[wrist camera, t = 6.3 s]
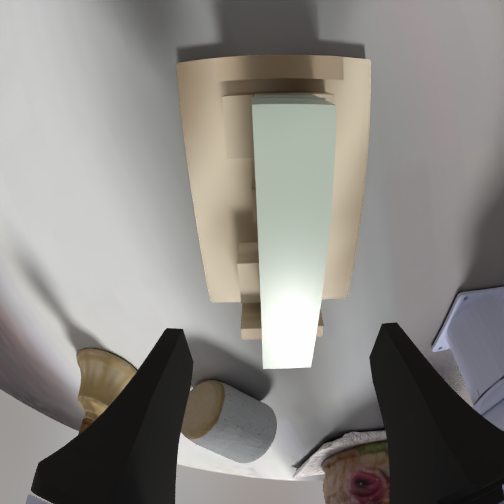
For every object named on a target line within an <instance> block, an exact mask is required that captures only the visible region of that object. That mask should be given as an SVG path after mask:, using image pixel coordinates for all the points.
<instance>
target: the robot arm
mask: <svg viewBox="0 0 504 504" xmlns="http://www.w3.org/2000/svg"><path fill="white" fill-rule="evenodd" d="M431 349H432V351H433V352H436V351H441V350H446V349H451V352H452V354H453V356H454V358H455V361H456V363H457V365H458V367H459V370H460V372H461V375H462V377H463V379H464V382H465V384H466V387H467V389H468V392H469V395H470V397H471V400H472V402H473V405H474V406H473V407H471V406H470V405H469V404H467V403H466V402H465V401H464V400H463V399H462V398H461V397H460V396H459V395H458V394H457V393H456V392H455V391H454V390H453V389H452V388H451V387H450V386H449V385H448V384H447V383H446V382H445V380H444V379H443V378H442V377H441V376H440V375H439V374H438V373H437V371H436V370H435V369H434V368H433V367H432V365H431V364H430V363H429V362H428V361H427V359H426V358H425V357H424V356H423V355H422V353H421V352H420V351H419V350H418V348H417V347H416V346H415V345H414V343H413V342H412V341H411V339H410V338H409V337H408V336H407V334H406V333H405V332H404V331H403V329H402V328H401V327H400V326H399V325H398V323H397V322H396V323H385V324H382V325H381V328H380V331H379V334H378V336H377V339H376V342H375V344H374V347H373V349H372V352H371V355H370V357H369V358H370V365H371V372H372V379H373V384H374V387H375V391H376V395H377V399H378V403H379V407H380V411H381V414H382V418H383V423H384V427H385V431H386V437H387V445H388V456H389V473H390V496H389V504H504V287H497V288H490V289H483V290H476V291H468V292H461V293H459V294H458V295H457V297H456V299H455V301H454V304H453V306H452V308H451V310H450V312H449V314H448V316H447V318H446V321H445V323H444V325H443V327H442V329H441V331H440V332H439V334H438V336H437V338H436V340H435V342H434V344H433V346H432V348H431ZM192 369H193V360H192V357H191V354H190V351H189V348H188V344H187V341H186V338H185V335H184V331H183V329H171V328H167V329H166V330H165V331H164V332H163V334H162V335H161V337H160V338H159V340H158V342H157V343H156V345H155V346H154V348H153V349H152V351H151V352H150V354H149V355H148V356H147V358H146V359H145V361H144V362H143V364H142V365H141V366H140V368H139V369H138V371H137V372H136V373H135V375H134V376H133V377H132V379H131V380H130V381H129V383H128V384H127V385H126V386H125V388H124V389H123V390H122V391H121V393H120V394H119V395H118V396H117V397H116V399H115V400H114V401H113V402H112V403H111V404H110V405H109V406H108V407H107V408H106V410H105V411H104V412H103V413H102V414H101V415H100V416H99V417H98V418H97V419H96V420H95V421H94V422H92V423H91V424H90V425H89V426H88V427H87V428H86V429H85V430H84V431H83V432H81V433H80V434H79V435H78V436H77V437H75V438H74V439H73V440H71V441H70V442H69V443H68V444H66V445H65V446H64V447H62V448H61V449H59V450H58V451H56V452H55V453H53V454H52V455H50V456H49V457H47V458H45V459H44V460H42V461H40V462H39V464H38V466H37V469H36V473H35V476H34V480H33V483H32V487H31V491H32V492H33V493H34V494H36V495H38V496H39V497H41V498H43V499H45V500H47V501H49V502H51V503H53V504H175V483H176V482H175V481H176V465H177V454H178V444H179V438H180V433H181V428H182V423H183V419H184V414H185V410H186V405H187V401H188V396H189V392H190V387H191V379H192ZM26 504H50V503H47V502H45V501H43V500H41V499H39V498H37V497H35V496H32V495H30V494H29V495H28V497H27V501H26Z"/></svg>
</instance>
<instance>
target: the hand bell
mask: <svg viewBox="0 0 504 504" xmlns="http://www.w3.org/2000/svg"><path fill="white" fill-rule="evenodd" d="M77 362H78V365H79V367H80V370H81V386H80V391H79V395H78V402H79V404H80V405H81V406H82V407H83V408H84V410H85V412H86V413H85V416H84V419H83V421H82V424H81V428H80V431H79V434H80V433H81V432H83V431H84V430H85V429H86V428H87V427H88V426H89V425H90V424H91V423H92V422H94V421H95V420H96V419H97V418H98V417H99V416H100V415H101V414H102V413H103V412H104V411H105V410H106V408H107V407H108V406H109V405H110V404H111V403H112V402H113V401H114V400H115V399H116V397H117V396H118V395H119V394H120V393H121V391H122V390H123V389H124V388H125V386H126V385H127V384H128V383H129V381H130V380H131V379H132V377H133V376H134V375H135V373H136V372H137V370H136V369H135V368H134V367H133V366H132V365H130V364H129V363H128V362H126V361H125V360H123V359H121V358H119V357H118V356H116V355H114V354H111V353H109V352H106V351H103V350H99V349H94V348H87V349H82V350H81V351H79V352H78V354H77ZM79 434H78V435H79Z"/></svg>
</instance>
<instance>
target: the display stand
mask: <svg viewBox="0 0 504 504" xmlns="http://www.w3.org/2000/svg"><path fill="white" fill-rule="evenodd" d="M176 67H177V78H178V88H179V98H180V107H181V116H182V124H183V133H184V141H185V149H186V156H187V164H188V171H189V178H190V185H191V192H192V198H193V205H194V211H195V217H196V224H197V230H198V236H199V242H200V248H201V253H202V259H203V265H204V270H205V276H206V281H207V286H208V292H209V297H210V302H241V303H243V304H242V318H241V335H242V339H262V323H261V297H260V273H259V249H258V225H257V203H256V181H255V159H254V139H253V118H252V98H254V95H255V93H311V94H313V95H315V96H318V97H320V98H326V101H329V102H331V103H333V104H335V105H337V106H336V142H335V163H334V180H333V195H332V208H331V220H330V231H329V241H328V250H327V259H326V268H325V276H324V284H323V292H322V299H339V298H348V294H349V289H350V284H351V278H352V273H353V267H354V261H355V255H356V249H357V243H358V236H359V229H360V222H361V214H362V206H363V198H364V189H365V179H366V168H367V156H368V142H369V125H370V98H371V60H368V59H360V58H350V57H339V56H325V55H301V54H270V55H246V56H231V57H220V58H210V59H202V60H194V61H187V62H181V63H176ZM323 327H324V325H323V320H322V315H321V310H320V314H319V320H318V327H317V333H316V337H322V333H323Z"/></svg>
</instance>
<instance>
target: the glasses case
mask: <svg viewBox="0 0 504 504" xmlns="http://www.w3.org/2000/svg"><path fill="white" fill-rule="evenodd" d="M336 106H337V105H335V104H333V103H331V102H329V101H326V98H320V97H318V96H315V95H313V94H311V93H255V95H254V98H252V118H253V139H254V159H255V181H256V203H257V225H258V249H259V273H260V297H261V323H262V350H263V369H278V368H304V367H311V363H312V357H313V352H314V346H315V340H316V333H317V327H318V320H319V314H320V307H321V300H322V292H323V284H324V276H325V268H326V259H327V250H328V241H329V231H330V220H331V208H332V195H333V180H334V163H335V142H336Z"/></svg>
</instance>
